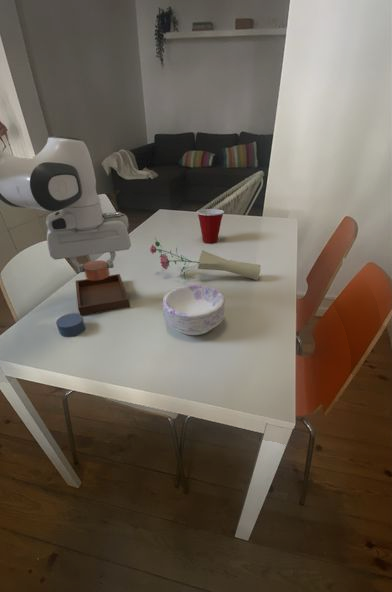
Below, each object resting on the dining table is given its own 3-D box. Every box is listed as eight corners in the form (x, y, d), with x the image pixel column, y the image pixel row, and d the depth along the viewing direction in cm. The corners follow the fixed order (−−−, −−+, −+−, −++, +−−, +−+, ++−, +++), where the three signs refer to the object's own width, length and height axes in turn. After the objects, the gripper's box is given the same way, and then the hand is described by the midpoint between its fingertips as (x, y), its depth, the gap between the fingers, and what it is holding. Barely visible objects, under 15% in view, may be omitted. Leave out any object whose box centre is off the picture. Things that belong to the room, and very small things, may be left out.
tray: (129, 307, 90) (128, 299, 88) (80, 316, 87) (77, 307, 85) (120, 281, 103) (119, 273, 101) (77, 288, 100) (75, 280, 98)
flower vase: (249, 304, 105) (144, 282, 101) (249, 278, 111) (151, 257, 108) (261, 278, 95) (145, 253, 92) (261, 251, 102) (153, 227, 99)
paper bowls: (153, 334, 79) (150, 306, 74) (181, 305, 90) (179, 280, 85) (210, 349, 74) (210, 320, 69) (231, 316, 85) (233, 290, 80)
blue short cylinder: (59, 339, 78) (55, 329, 76) (59, 325, 83) (56, 316, 81) (86, 334, 80) (83, 324, 78) (84, 321, 85) (81, 311, 83)
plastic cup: (223, 236, 135) (224, 206, 127) (222, 246, 126) (223, 214, 119) (198, 236, 136) (197, 206, 128) (195, 245, 127) (195, 214, 120)
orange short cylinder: (85, 272, 88) (82, 262, 86) (108, 269, 90) (106, 258, 88) (86, 282, 83) (83, 271, 81) (111, 278, 85) (108, 267, 83)
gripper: (124, 207, 82) (132, 259, 90) (40, 216, 77) (57, 270, 85) (128, 214, 77) (136, 268, 86) (39, 224, 72) (56, 280, 81)
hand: (96, 269), depth 85 cm, fingers closed on orange short cylinder, 6 cm apart
